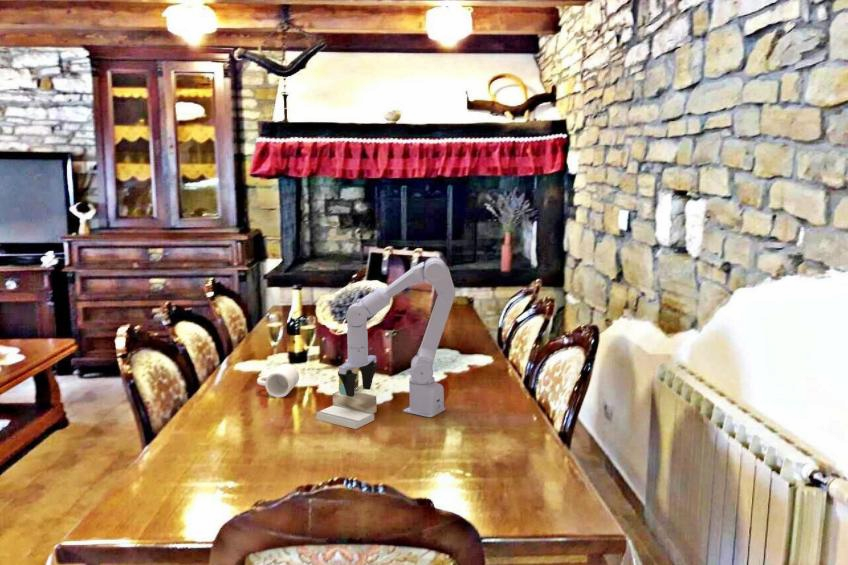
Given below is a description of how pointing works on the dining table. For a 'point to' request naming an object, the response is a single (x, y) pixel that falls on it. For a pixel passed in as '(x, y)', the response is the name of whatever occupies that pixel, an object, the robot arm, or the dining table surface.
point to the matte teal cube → (343, 390)
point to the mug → (280, 380)
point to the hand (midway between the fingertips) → (358, 392)
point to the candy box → (356, 371)
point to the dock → (345, 416)
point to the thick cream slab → (356, 401)
